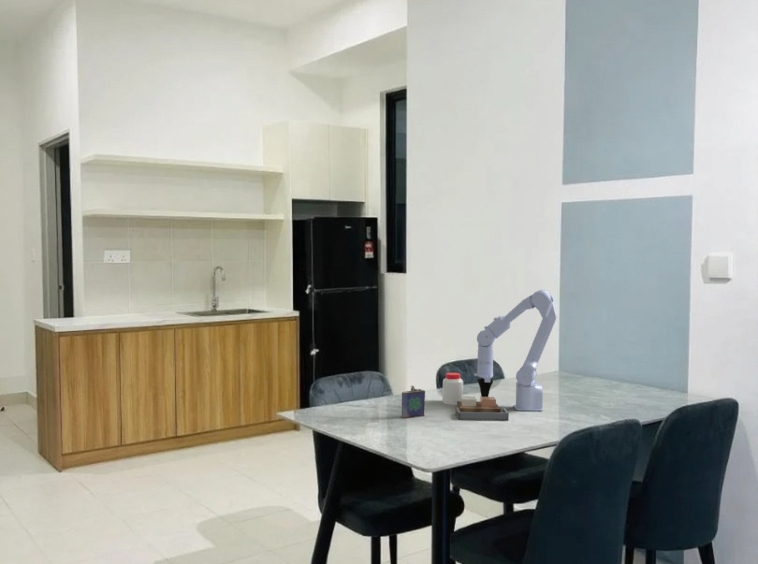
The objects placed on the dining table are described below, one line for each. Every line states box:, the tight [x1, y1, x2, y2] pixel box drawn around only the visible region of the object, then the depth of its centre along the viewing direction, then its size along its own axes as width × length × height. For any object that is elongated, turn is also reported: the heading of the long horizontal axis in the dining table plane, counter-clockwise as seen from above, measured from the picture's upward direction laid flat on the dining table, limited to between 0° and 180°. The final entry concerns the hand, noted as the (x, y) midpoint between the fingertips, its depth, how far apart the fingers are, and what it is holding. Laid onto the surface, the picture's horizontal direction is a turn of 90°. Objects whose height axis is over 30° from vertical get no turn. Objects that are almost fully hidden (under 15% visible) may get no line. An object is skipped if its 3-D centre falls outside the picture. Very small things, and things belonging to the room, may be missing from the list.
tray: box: [455, 406, 510, 421], centre depth 251 cm, size 17×9×2 cm, turn 89°
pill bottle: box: [442, 372, 464, 406], centre depth 274 cm, size 8×8×11 cm
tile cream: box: [461, 395, 477, 406], centre depth 261 cm, size 5×5×2 cm
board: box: [456, 400, 501, 413], centre depth 262 cm, size 14×12×2 cm
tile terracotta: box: [479, 396, 497, 407], centre depth 261 cm, size 5×5×2 cm
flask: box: [401, 385, 426, 419], centre depth 251 cm, size 9×3×11 cm, turn 121°
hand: (484, 398), depth 270 cm, fingers closed
